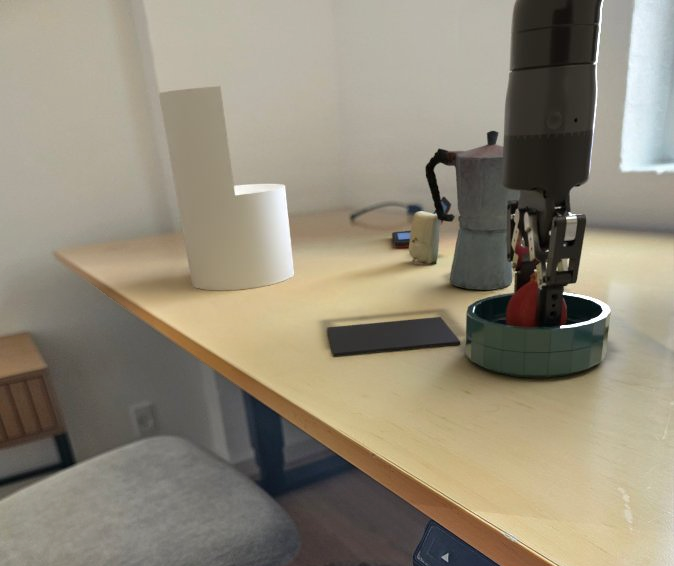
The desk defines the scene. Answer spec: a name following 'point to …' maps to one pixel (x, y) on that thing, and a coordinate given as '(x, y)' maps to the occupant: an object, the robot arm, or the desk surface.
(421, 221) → the cream rounded pillar
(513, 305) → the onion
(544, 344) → the bowl
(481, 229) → the moka pot
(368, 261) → the desk surface
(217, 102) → the white cylindrical chair
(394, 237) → the handheld console
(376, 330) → the mat
